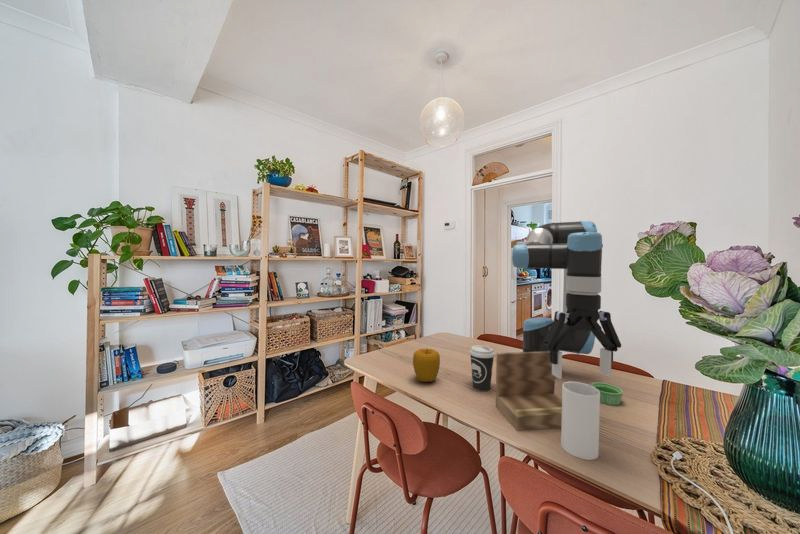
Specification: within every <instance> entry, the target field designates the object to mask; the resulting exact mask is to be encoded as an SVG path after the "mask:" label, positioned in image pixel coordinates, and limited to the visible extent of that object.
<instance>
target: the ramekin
mask: <svg viewBox="0 0 800 534" xmlns="http://www.w3.org/2000/svg"><path fill="white" fill-rule="evenodd" d="M590 385H591V386H593V387H595V388H597V389H598V390H599V391H600V404H601V403H602V404H603V405H604V404H605V405H609V406H618V405H620V404H621V403H622V402H621V401H622V395H623V392H624V391H623V390H622V389H621V388H620V387H618V386H616V385H614V384H611V383H607V382H600V381H599V382H598V381H597V382H592V383H591V384H590Z"/></svg>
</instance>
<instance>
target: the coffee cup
mask: <svg viewBox="0 0 800 534" xmlns="http://www.w3.org/2000/svg"><path fill="white" fill-rule="evenodd" d="M468 354H469V355H470V364H471V365H470V367H471V377H472V378H471V380H472V381H471V382H472V388H473V389H475V390H477V391H481V392H487V391H490V390H491V384H492V375H493V366H494V357H495V356H496V354H495V351H494V349H493V348H492V347H490V346H487V345H482V344H481V345H479V344H477V345H473V346H471V347H470V349H469V351H468Z"/></svg>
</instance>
